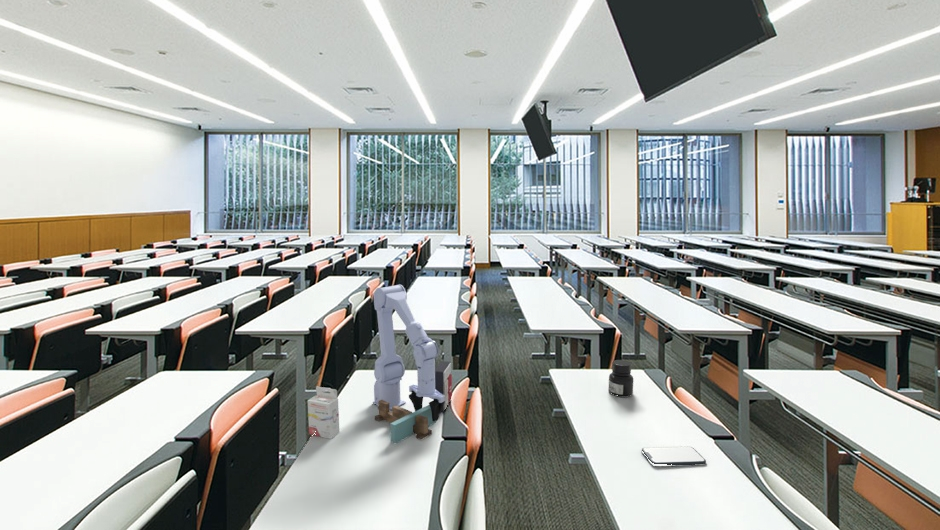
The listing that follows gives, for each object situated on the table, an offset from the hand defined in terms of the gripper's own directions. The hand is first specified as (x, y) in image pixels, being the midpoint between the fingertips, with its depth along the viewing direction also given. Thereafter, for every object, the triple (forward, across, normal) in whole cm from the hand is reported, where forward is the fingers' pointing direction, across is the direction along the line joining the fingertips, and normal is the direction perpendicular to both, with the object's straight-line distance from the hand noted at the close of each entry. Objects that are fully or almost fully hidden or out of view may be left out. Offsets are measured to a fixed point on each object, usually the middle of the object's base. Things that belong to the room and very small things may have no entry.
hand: (427, 417), depth 163 cm
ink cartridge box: (+3, -22, -25) cm, 33 cm away
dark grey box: (+3, -6, +14) cm, 15 cm away
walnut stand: (+3, -6, -6) cm, 9 cm away
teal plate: (+3, 0, -6) cm, 7 cm away
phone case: (+3, +70, +30) cm, 76 cm away
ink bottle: (+3, +40, +65) cm, 76 cm away
